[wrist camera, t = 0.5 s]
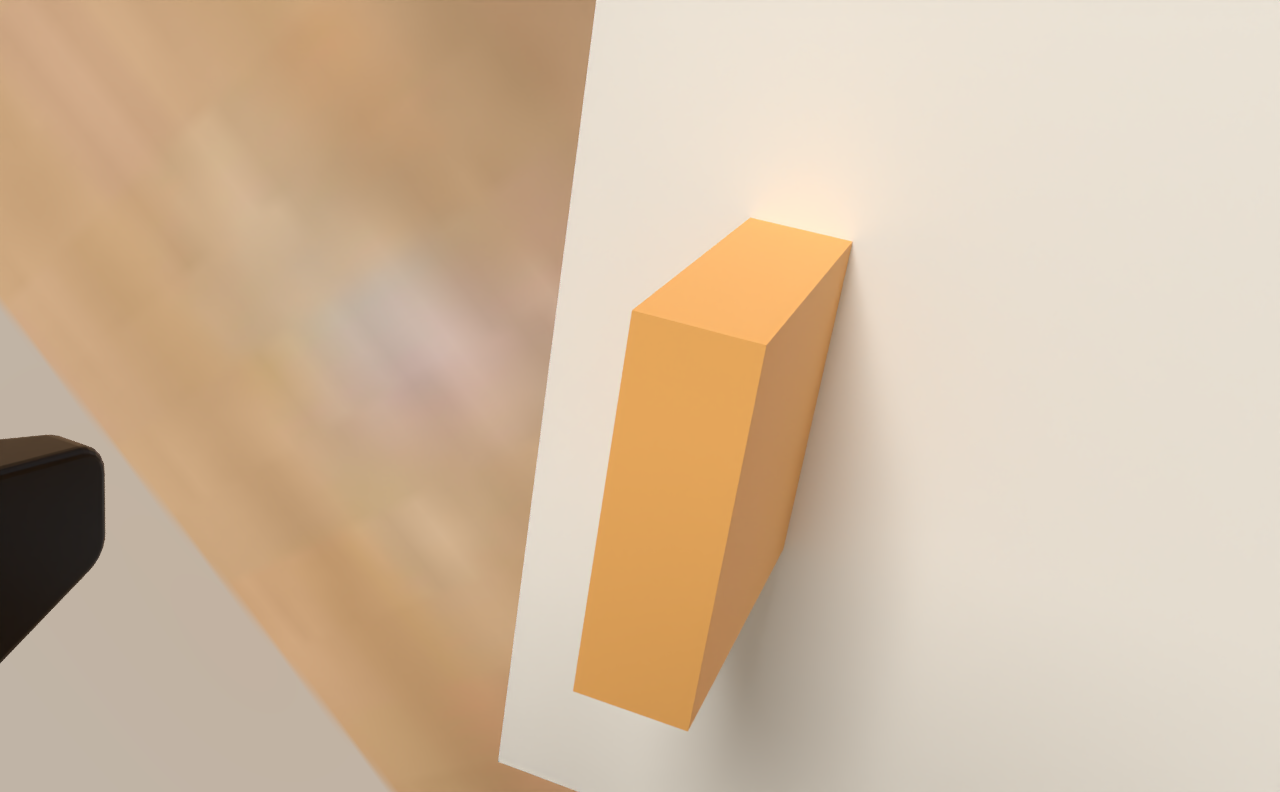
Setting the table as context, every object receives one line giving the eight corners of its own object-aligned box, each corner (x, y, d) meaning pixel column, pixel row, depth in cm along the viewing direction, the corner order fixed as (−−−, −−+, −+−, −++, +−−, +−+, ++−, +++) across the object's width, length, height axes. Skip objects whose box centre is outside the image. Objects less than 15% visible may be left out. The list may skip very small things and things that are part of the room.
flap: (1176, 980, 16) (1202, 1331, 12) (515, 738, 19) (351, 961, 14) (1670, -135, 11) (2014, -181, 7) (650, -269, 13) (451, -363, 9)
